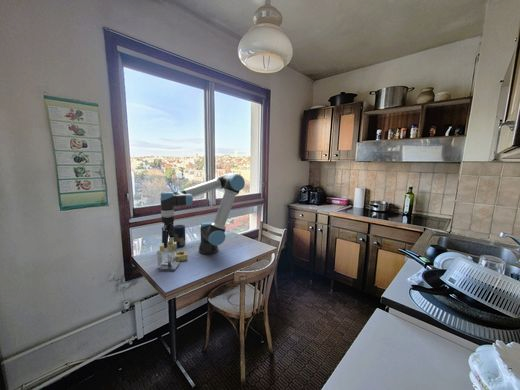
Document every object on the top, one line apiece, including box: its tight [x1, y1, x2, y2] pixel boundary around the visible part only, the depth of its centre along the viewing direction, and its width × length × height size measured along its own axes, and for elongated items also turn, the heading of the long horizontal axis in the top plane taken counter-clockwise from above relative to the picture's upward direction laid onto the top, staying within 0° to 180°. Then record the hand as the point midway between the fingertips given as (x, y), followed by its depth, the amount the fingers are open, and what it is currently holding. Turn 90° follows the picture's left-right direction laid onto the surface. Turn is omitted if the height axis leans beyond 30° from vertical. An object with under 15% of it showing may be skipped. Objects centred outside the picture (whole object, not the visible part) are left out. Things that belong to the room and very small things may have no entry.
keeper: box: [156, 249, 181, 272], centre depth 147 cm, size 12×10×12 cm
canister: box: [173, 224, 186, 248], centre depth 184 cm, size 10×10×18 cm
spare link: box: [173, 250, 188, 262], centre depth 161 cm, size 8×8×4 cm
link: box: [159, 241, 178, 253], centre depth 146 cm, size 8×8×4 cm
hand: (168, 249), depth 146 cm, fingers closed on link, 8 cm apart
